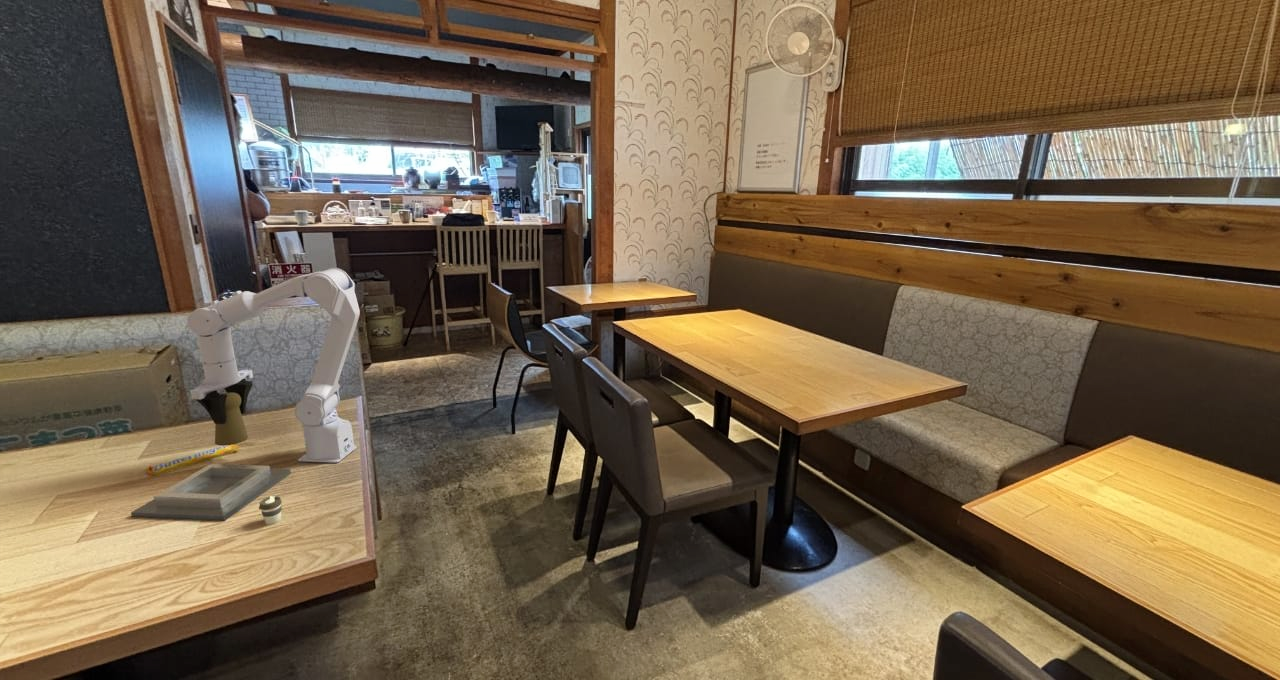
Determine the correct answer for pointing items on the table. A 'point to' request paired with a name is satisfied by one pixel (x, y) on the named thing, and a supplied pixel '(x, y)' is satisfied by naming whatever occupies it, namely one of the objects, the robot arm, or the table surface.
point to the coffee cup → (271, 509)
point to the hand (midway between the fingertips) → (230, 418)
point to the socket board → (212, 493)
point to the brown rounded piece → (231, 423)
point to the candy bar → (192, 459)
